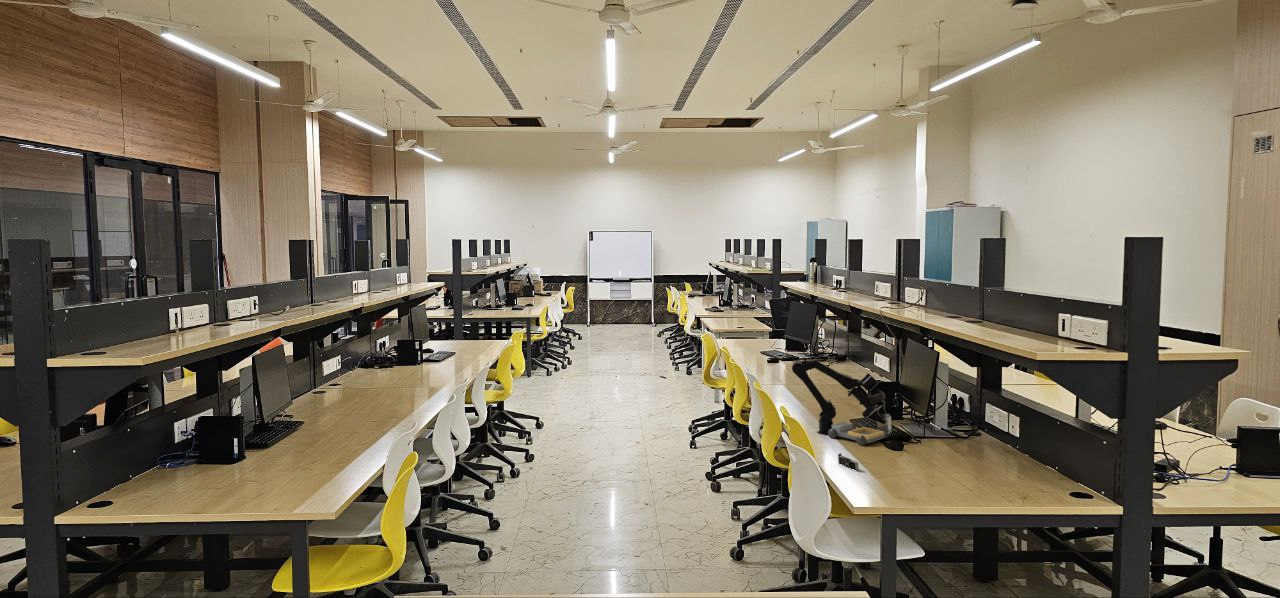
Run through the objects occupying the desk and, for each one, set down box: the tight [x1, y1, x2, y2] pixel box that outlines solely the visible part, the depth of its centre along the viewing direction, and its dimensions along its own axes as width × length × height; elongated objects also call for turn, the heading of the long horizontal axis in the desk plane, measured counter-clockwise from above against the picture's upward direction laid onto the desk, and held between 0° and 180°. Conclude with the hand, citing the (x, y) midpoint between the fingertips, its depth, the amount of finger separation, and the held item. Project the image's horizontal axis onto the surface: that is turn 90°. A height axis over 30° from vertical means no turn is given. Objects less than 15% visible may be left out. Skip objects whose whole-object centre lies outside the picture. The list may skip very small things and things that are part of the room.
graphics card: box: [837, 453, 860, 472], centre depth 291 cm, size 12×3×5 cm, turn 21°
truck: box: [827, 421, 887, 447], centre depth 332 cm, size 23×15×6 cm, turn 33°
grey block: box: [876, 413, 892, 434], centre depth 335 cm, size 5×5×10 cm
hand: (887, 421), depth 334 cm, fingers open, 7 cm apart
